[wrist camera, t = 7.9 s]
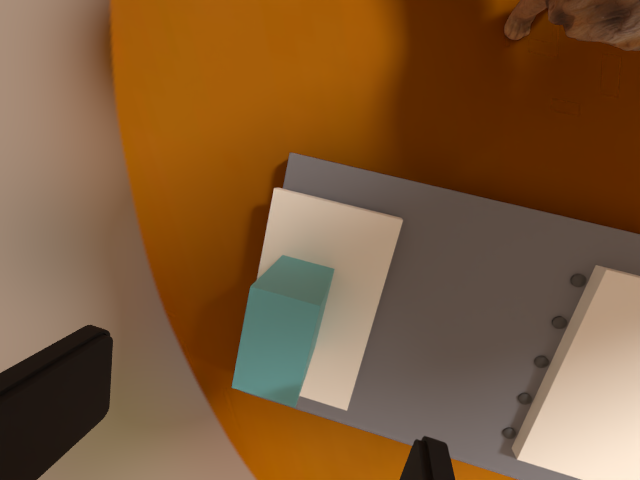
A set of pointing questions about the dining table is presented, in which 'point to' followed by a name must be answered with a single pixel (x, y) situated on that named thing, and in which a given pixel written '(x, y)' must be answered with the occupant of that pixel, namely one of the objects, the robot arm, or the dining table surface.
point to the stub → (313, 299)
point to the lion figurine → (582, 20)
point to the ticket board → (495, 331)
